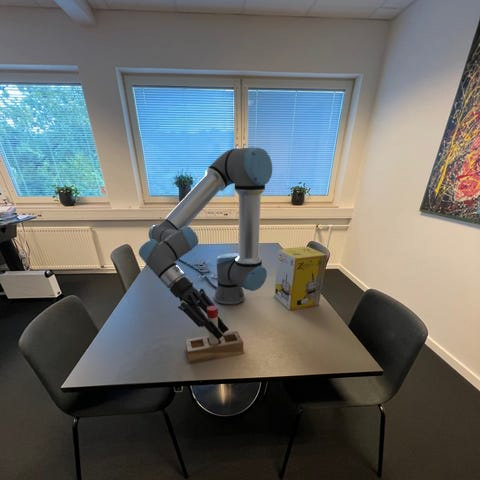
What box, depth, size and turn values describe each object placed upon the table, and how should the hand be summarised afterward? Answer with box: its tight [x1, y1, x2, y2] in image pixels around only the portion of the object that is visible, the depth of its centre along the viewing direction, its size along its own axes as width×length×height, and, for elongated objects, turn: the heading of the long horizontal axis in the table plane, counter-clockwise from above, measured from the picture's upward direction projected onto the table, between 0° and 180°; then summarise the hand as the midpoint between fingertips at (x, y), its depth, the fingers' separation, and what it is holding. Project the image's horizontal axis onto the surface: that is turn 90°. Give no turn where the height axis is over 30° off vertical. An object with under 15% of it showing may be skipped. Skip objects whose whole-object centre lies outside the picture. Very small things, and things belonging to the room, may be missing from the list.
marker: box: [206, 305, 219, 345], centre depth 89 cm, size 4×4×14 cm
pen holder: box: [184, 330, 244, 364], centre depth 93 cm, size 8×20×5 cm, turn 107°
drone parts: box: [194, 258, 217, 279], centre depth 171 cm, size 23×35×3 cm, turn 12°
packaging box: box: [274, 246, 328, 311], centre depth 126 cm, size 16×16×25 cm
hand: (223, 334), depth 89 cm, fingers closed on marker, 3 cm apart
